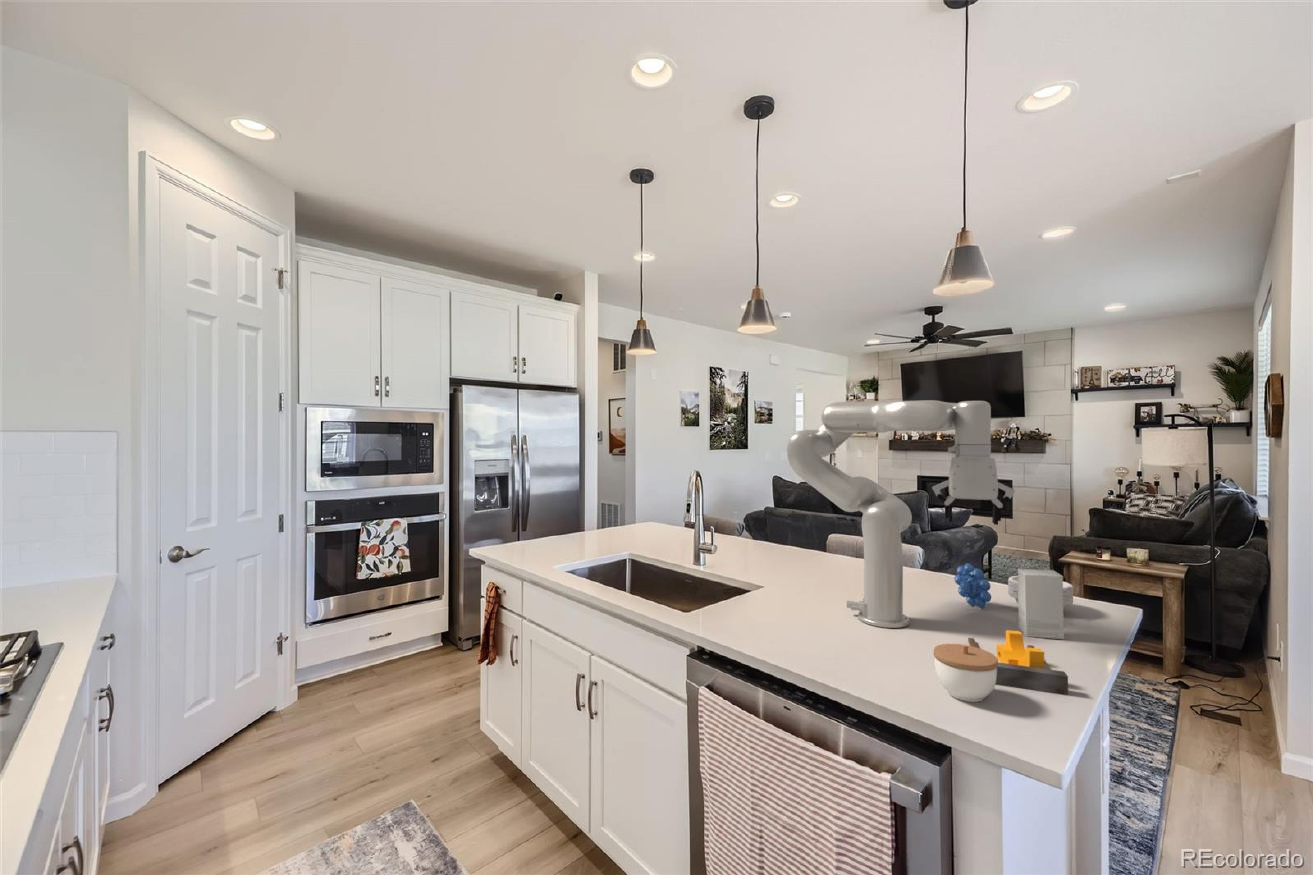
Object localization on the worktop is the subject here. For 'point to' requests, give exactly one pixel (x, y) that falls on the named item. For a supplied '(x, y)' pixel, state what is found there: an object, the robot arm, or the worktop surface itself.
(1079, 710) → the worktop surface
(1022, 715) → the worktop surface
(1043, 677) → the rail
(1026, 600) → the skincare box
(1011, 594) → the paper bowls
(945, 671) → the lidded jar
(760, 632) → the worktop surface
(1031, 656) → the pipe clamp
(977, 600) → the grapes
